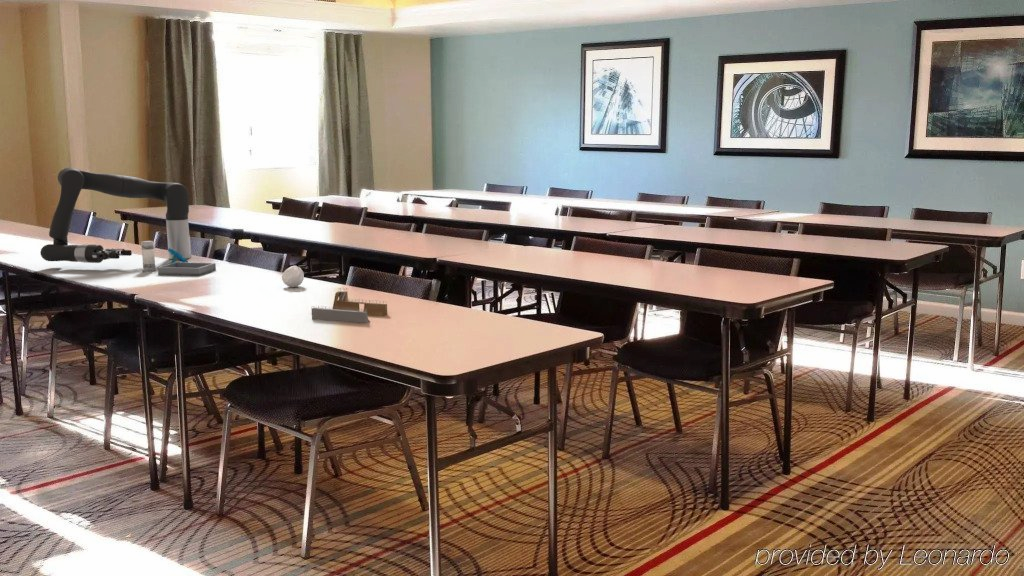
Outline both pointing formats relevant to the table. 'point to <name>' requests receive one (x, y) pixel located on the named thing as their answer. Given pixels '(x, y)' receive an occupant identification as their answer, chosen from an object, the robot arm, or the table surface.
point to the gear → (176, 256)
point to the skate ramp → (349, 310)
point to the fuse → (148, 256)
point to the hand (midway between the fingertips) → (125, 254)
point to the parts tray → (186, 269)
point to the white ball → (293, 276)
